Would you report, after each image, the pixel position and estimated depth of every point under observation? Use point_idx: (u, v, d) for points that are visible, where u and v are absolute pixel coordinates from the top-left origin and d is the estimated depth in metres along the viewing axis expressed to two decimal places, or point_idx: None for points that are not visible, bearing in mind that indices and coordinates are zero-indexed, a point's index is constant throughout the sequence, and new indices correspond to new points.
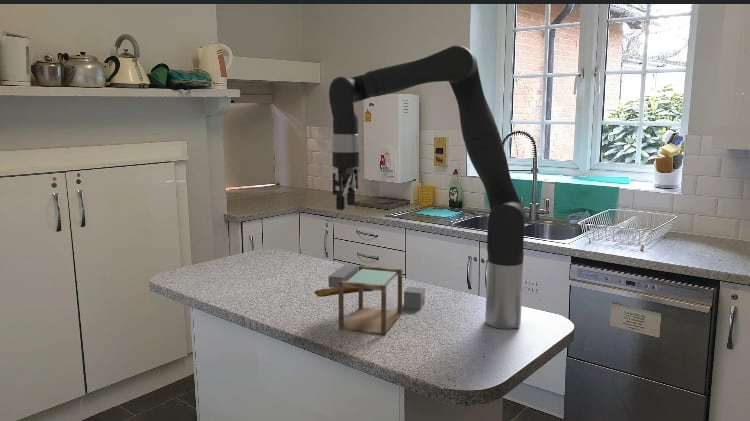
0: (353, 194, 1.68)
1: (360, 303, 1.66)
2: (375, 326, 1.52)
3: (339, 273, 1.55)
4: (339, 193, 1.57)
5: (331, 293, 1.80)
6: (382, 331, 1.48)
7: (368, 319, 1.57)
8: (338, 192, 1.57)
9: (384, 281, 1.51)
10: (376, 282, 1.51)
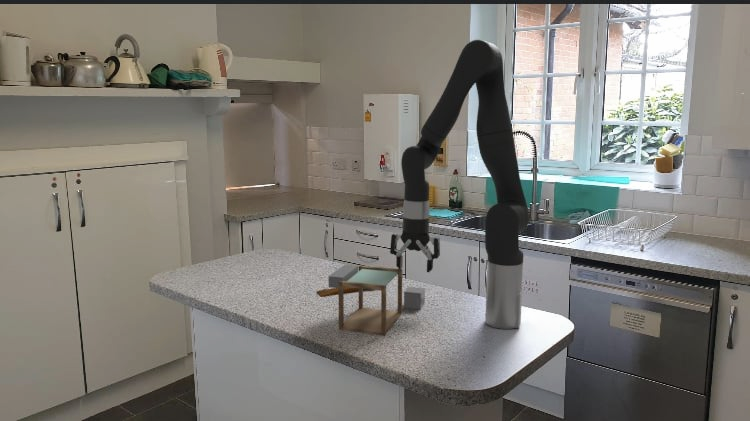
0: None
1: (360, 303, 1.66)
2: (375, 326, 1.52)
3: (339, 273, 1.55)
4: (439, 255, 1.66)
5: (333, 293, 1.80)
6: (382, 331, 1.48)
7: (368, 319, 1.57)
8: (439, 254, 1.66)
9: (384, 281, 1.51)
10: (376, 282, 1.51)
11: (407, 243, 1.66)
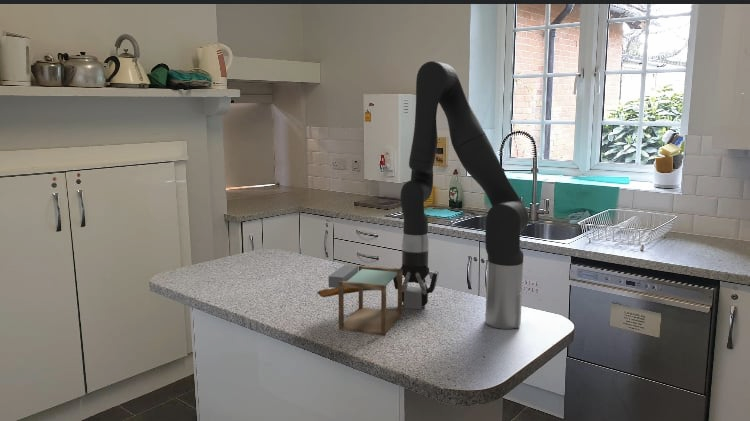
0: None
1: (360, 303, 1.66)
2: (375, 326, 1.52)
3: (339, 273, 1.55)
4: (433, 289, 1.68)
5: (334, 293, 1.80)
6: (382, 331, 1.48)
7: (368, 319, 1.57)
8: (433, 288, 1.68)
9: (384, 281, 1.51)
10: (376, 282, 1.51)
11: (407, 276, 1.67)
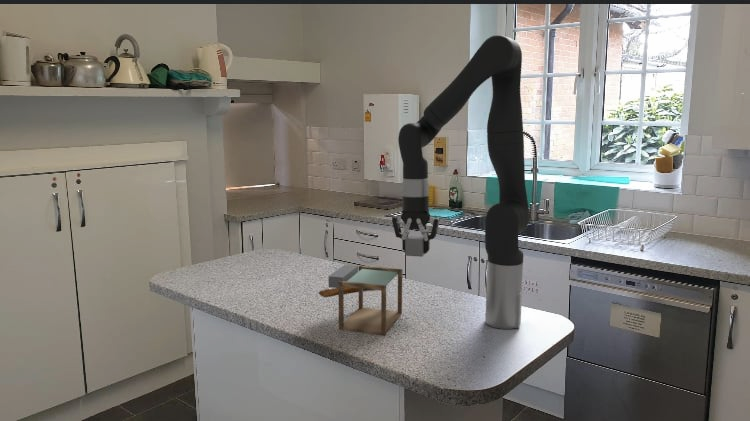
0: None
1: (360, 303, 1.66)
2: (375, 326, 1.52)
3: (339, 273, 1.55)
4: (435, 236, 1.65)
5: (336, 293, 1.80)
6: (382, 331, 1.48)
7: (368, 319, 1.57)
8: (435, 235, 1.65)
9: (384, 281, 1.51)
10: (376, 282, 1.51)
11: (408, 223, 1.64)
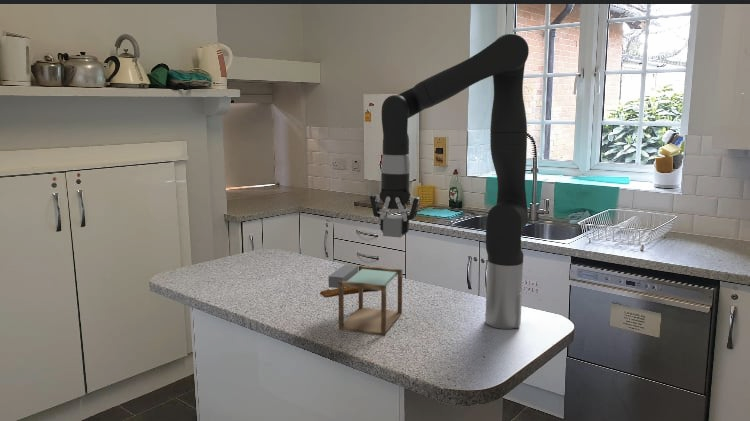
0: None
1: (360, 303, 1.66)
2: (375, 326, 1.52)
3: (339, 273, 1.55)
4: (415, 216, 1.56)
5: (337, 294, 1.79)
6: (382, 331, 1.48)
7: (368, 319, 1.57)
8: (415, 215, 1.56)
9: (384, 281, 1.51)
10: (376, 282, 1.51)
11: (387, 201, 1.55)
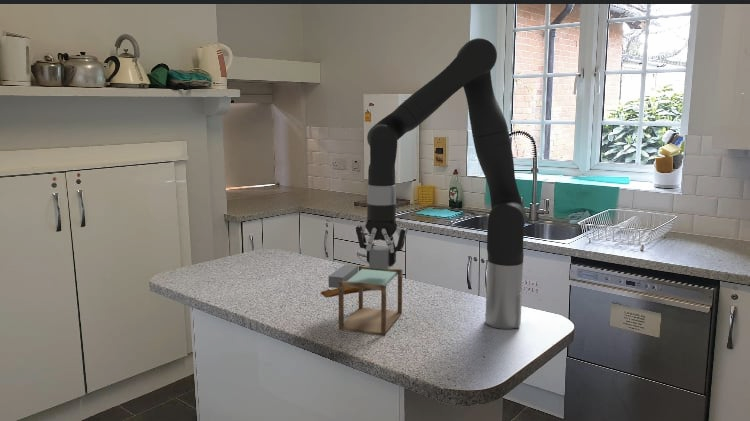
0: None
1: (360, 303, 1.66)
2: (375, 326, 1.52)
3: (339, 273, 1.55)
4: None
5: (338, 293, 1.80)
6: (382, 331, 1.48)
7: (368, 319, 1.57)
8: (402, 246, 1.52)
9: (384, 281, 1.51)
10: (376, 282, 1.51)
11: (373, 233, 1.51)
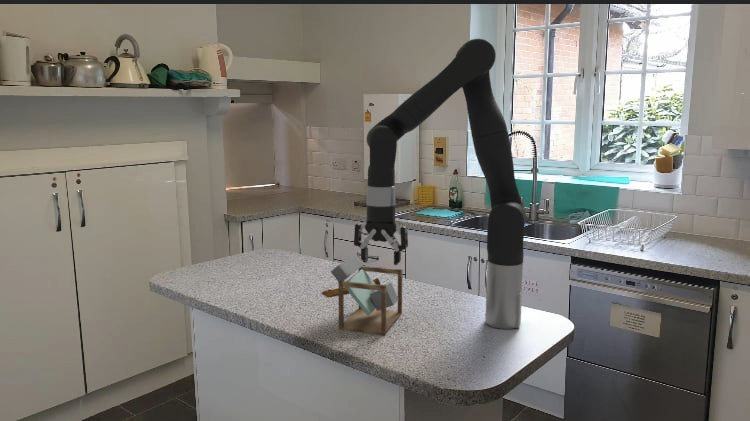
0: (367, 249, 1.55)
1: None
2: (375, 326, 1.52)
3: (347, 267, 1.54)
4: (407, 246, 1.52)
5: None
6: (382, 331, 1.48)
7: (368, 319, 1.57)
8: (407, 245, 1.51)
9: (374, 306, 1.54)
10: (368, 303, 1.52)
11: (372, 233, 1.51)
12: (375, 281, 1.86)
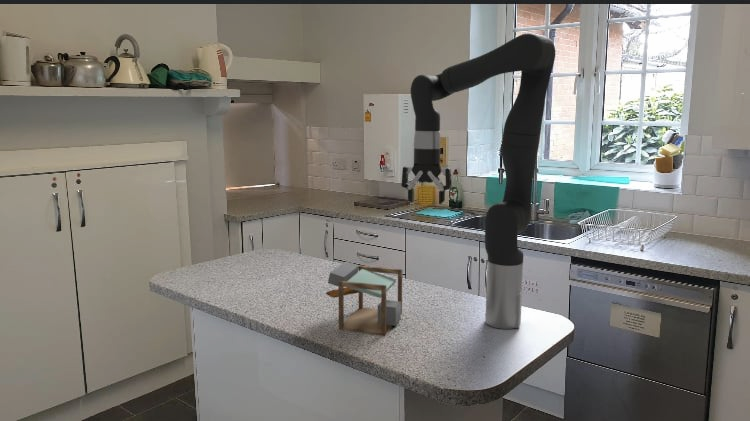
0: None
1: (360, 303, 1.66)
2: (375, 326, 1.52)
3: (340, 271, 1.55)
4: (451, 186, 1.66)
5: (344, 293, 1.80)
6: (382, 331, 1.48)
7: (368, 319, 1.57)
8: (451, 185, 1.65)
9: None
10: None
11: (419, 175, 1.65)
12: None
